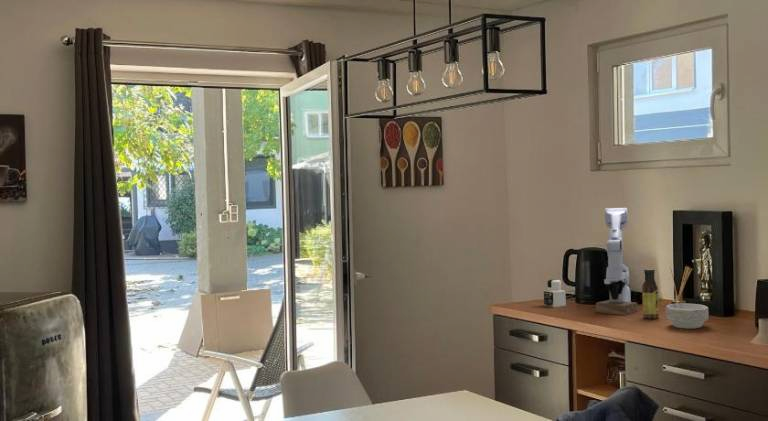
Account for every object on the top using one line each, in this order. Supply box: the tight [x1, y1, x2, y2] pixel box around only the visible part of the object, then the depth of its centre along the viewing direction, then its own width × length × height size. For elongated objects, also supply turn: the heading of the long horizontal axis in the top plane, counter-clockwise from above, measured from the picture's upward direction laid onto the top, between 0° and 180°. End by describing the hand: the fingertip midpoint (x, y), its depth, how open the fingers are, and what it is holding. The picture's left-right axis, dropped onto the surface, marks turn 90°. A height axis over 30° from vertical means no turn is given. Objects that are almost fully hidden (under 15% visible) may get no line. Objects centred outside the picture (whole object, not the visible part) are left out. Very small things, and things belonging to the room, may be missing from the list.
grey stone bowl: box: [665, 303, 709, 330], centre depth 318 cm, size 15×15×8 cm
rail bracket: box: [609, 292, 623, 304], centre depth 358 cm, size 2×5×8 cm, turn 43°
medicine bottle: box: [543, 278, 567, 308], centre depth 381 cm, size 7×7×12 cm
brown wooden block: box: [595, 299, 638, 316], centre depth 358 cm, size 10×14×4 cm
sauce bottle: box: [641, 268, 660, 319], centre depth 340 cm, size 6×6×20 cm
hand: (616, 299), depth 357 cm, fingers closed on rail bracket, 2 cm apart
